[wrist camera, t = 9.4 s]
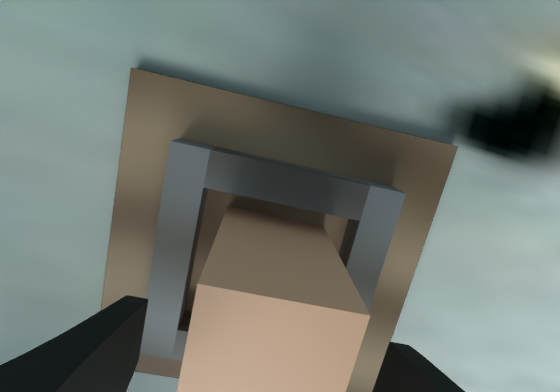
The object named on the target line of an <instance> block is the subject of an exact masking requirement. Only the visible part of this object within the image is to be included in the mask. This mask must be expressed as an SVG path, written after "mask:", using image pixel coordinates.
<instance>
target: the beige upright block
mask: <svg viewBox="0 0 560 392" xmlns="http://www.w3.org/2000/svg"><path fill="white" fill-rule="evenodd" d="M369 319H370V314H369V312H368V310H367V308H366V306H365V304H364V302H363V300H362V298H361V297H360V295H359V293H358V291H357V289H356V287H355V285H354V283H353V281H352V279H351V277H350V275H349V274H348V272H347V270H346V268H345V266H344V264H343V262H342V260H341V258H340V256H339V254H338V253H337V251H336V249H335V247H334V245H333V243H332V241H331V239H330V237H329V235H328V233H327V231H326V230H325V228H324V226H320V225H315V224H310V223H305V222H300V221H296V220H291V219H286V218H281V217H276V216H272V215H267V214H262V213H257V212H252V211H248V210H243V209H238V208H233V207H227V209H226V212H225V214H224V217H223V220H222V222H221V225H220V227H219V230H218V232H217V235H216V238H215V240H214V243H213V245H212V248H211V250H210V253H209V256H208V258H207V261H206V263H205V266H204V268H203V271H202V273H201V276H200V279H199V281H198V284H197V289H196V294H195V299H194V305H193V310H192V315H191V320H190V325H189V330H188V336H187V341H186V346H185V351H184V356H183V362H182V367H181V372H180V377H179V382H178V387H177V392H346V389H347V386H348V383H349V380H350V377H351V374H352V371H353V368H354V365H355V362H356V359H357V356H358V353H359V349H360V346H361V343H362V340H363V337H364V334H365V331H366V328H367V325H368V322H369Z"/></svg>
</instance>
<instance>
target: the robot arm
mask: <svg viewBox="0 0 560 392" xmlns="http://www.w3.org/2000/svg"><path fill="white" fill-rule="evenodd" d="M147 305H148V299H146V298H140V297H134V296H129V295H126V296H124V297H123V298H121V299H119V300H118V301H116V302H114V303H113V304H111V305H109V306H108V307H106V308H105V309H103V310H101V311H100V312H98V313H96V314H95V315H93V316H91V317H90V318H88V319H87V320H85V321H83V322H81V323H80V324H78V325H76V326H75V327H73V328H71V329H70V330H68V331H66V332H64V333H63V334H61V335H59V336H57V337H55V338H53V339H51V340H49V341H48V342H46V343H44V344H42V345H40V346H38V347H36V348H34V349H32V350H31V351H29V352H27V353H25V354H23V355H21V356H19V357H17V358H15V359H12V360H10V361H8V362H6V363H4V364H2V365H0V392H126V390H127V387H128V385H129V383H130V380H131V378H132V376H133V373H134V371H135V368H136V366H137V363H138V361H139V355H140V349H141V343H142V337H143V330H144V324H145V318H146V312H147ZM372 392H465V391H463V390H462V389H461V388H460V387H459V386H458V385H456V384H455V383H454V382H453V381H452V380H451V379H449V378H448V377H447V376H446V375H445V374H444V373H442V372H441V371H440V370H439V369H438V368H437V367H435V366H434V365H433V364H432V363H431V362H430V361H428V360H427V359H426V358H425V357H424V356H422V355H421V354H420V353H419V352H417V351H416V350H415V349H413V348H412V347H410V346H409V345H405V344H399V343H394V342H389V345H388V348H387V350H386V353H385V356H384V359H383V362H382V365H381V368H380V371H379V374H378V377H377V379H376V382H375V385H374V388H373V391H372Z"/></svg>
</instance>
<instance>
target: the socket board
mask: <svg viewBox="0 0 560 392" xmlns="http://www.w3.org/2000/svg"><path fill="white" fill-rule="evenodd" d="M457 149H458V146H454V145H450V144H446V143H442V142H438V141H433V140H429V139H425V138H421V137H417V136H413V135H409V134H404V133H400V132H396V131H392V130H388V129H384V128H380V127H375V126H371V125H367V124H363V123H359V122H355V121H351V120H346V119H342V118H338V117H334V116H330V115H326V114H321V113H317V112H313V111H309V110H305V109H301V108H297V107H292V106H288V105H284V104H280V103H276V102H272V101H268V100H263V99H259V98H255V97H251V96H247V95H243V94H239V93H234V92H230V91H226V90H222V89H218V88H214V87H210V86H205V85H201V84H197V83H193V82H189V81H185V80H181V79H176V78H172V77H168V76H164V75H160V74H156V73H152V72H147V71H143V70H139V69H135V68H131V72H130V80H129V88H128V96H127V104H126V112H125V120H124V128H123V136H122V144H121V152H120V160H119V168H118V176H117V184H116V192H115V200H114V208H113V216H112V224H111V232H110V240H109V248H108V256H107V264H106V272H105V280H104V288H103V296H102V304H101V310H103V309H105V308H106V307H108V306H109V305H111V304H113V303H114V302H116V301H118V300H119V299H121V298H123V297H124V296H126V295H129V296H134V297H140V298H146V299H148V305H147V312H146V318H145V324H144V330H143V337H142V343H141V349H140V355H139V361H138V363H137V366H136V368H135V371H136V372H142V373H148V374H155V375H161V376H167V377H174V378H179V377H180V372H181V367H182V362H183V356H184V351H185V346H186V341H187V336H188V330H189V325H190V320H191V315H192V310H193V305H194V299H195V294H196V289H197V284H198V281H199V279H200V276H201V273H202V271H203V268H204V266H205V263H206V261H207V258H208V256H209V253H210V250H211V248H212V245H213V243H214V240H215V238H216V235H217V232H218V230H219V227H220V225H221V222H222V220H223V217H224V214H225V212H226V209H227V207H233V208H238V209H243V210H248V211H252V212H257V213H262V214H267V215H272V216H276V217H281V218H286V219H291V220H296V221H300V222H305V223H310V224H315V225H320V226H324V228H325V230H326V231H327V233H328V235H329V237H330V239H331V241H332V243H333V245H334V247H335V249H336V251H337V253H338V254H339V256H340V258H341V260H342V262H343V264H344V266H345V268H346V270H347V272H348V274H349V275H350V277H351V279H352V281H353V283H354V285H355V287H356V289H357V291H358V293H359V295H360V297H361V298H362V300H363V302H364V304H365V306H366V308H367V310H368V312H369V314H370V319H369V322H368V325H367V328H366V331H365V334H364V337H363V340H362V343H361V346H360V349H359V353H358V356H357V359H356V362H355V365H354V368H353V371H352V374H351V377H350V380H349V383H348V386H347V389H346V392H372V391H373V388H374V385H375V382H376V379H377V377H378V374H379V371H380V368H381V365H382V362H383V359H384V356H385V353H386V350H387V348H388V345H389V342H390V341H391V338H392V336H393V333H394V330H395V327H396V324H397V321H398V318H399V315H400V313H401V310H402V307H403V304H404V301H405V298H406V295H407V292H408V290H409V287H410V284H411V281H412V278H413V275H414V272H415V269H416V267H417V264H418V261H419V258H420V255H421V252H422V249H423V246H424V244H425V241H426V238H427V235H428V232H429V229H430V226H431V223H432V221H433V218H434V215H435V212H436V209H437V206H438V203H439V200H440V197H441V195H442V192H443V189H444V186H445V183H446V180H447V177H448V174H449V172H450V169H451V166H452V163H453V160H454V157H455V154H456V151H457Z"/></svg>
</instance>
